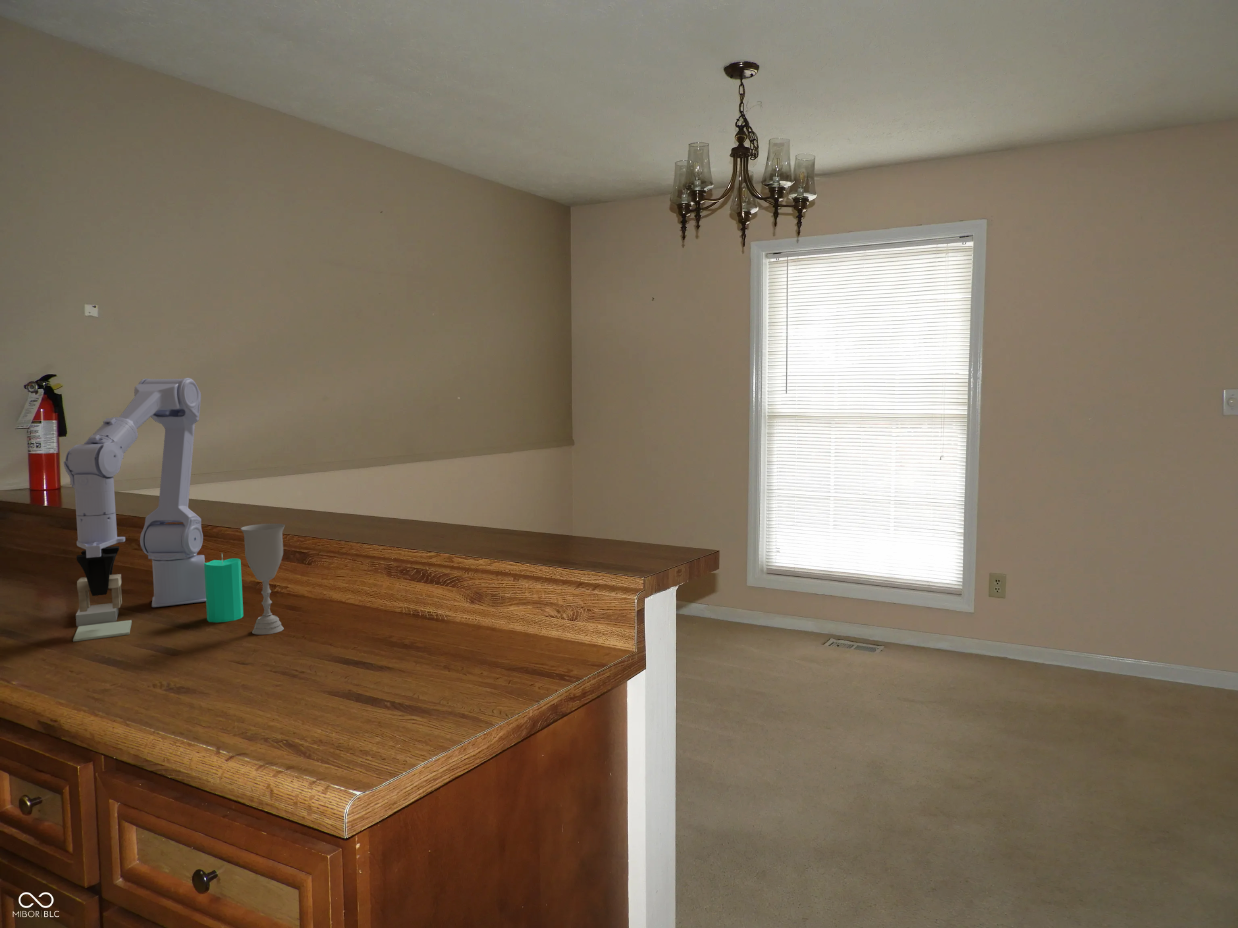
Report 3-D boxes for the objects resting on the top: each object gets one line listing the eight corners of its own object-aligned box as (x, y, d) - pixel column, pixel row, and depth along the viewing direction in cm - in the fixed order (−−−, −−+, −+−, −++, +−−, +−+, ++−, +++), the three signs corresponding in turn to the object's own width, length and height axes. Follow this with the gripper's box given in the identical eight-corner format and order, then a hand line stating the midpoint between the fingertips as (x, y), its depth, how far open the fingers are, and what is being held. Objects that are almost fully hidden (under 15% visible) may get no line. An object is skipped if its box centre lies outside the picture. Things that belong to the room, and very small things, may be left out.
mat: (131, 622, 149) (131, 619, 149) (129, 634, 141) (129, 632, 141) (78, 628, 145) (78, 626, 145) (73, 641, 137) (73, 639, 137)
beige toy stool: (78, 612, 139) (76, 581, 139) (82, 607, 143) (80, 577, 142) (120, 607, 142) (118, 578, 141) (122, 603, 145) (120, 573, 145)
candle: (249, 613, 154) (246, 550, 153) (231, 622, 148) (228, 556, 147) (219, 613, 154) (216, 549, 153) (200, 622, 148) (196, 556, 147)
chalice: (272, 637, 138) (267, 530, 137) (236, 635, 139) (231, 529, 138) (298, 625, 145) (293, 523, 144) (263, 623, 147) (258, 523, 145)
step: (118, 612, 155) (117, 602, 155) (116, 621, 149) (115, 610, 149) (80, 617, 153) (79, 606, 152) (76, 626, 146) (75, 615, 146)
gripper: (119, 517, 137) (124, 598, 138) (126, 507, 149) (131, 581, 150) (68, 520, 133) (74, 603, 134) (80, 510, 146) (85, 585, 147)
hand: (101, 592), depth 142 cm, fingers closed on beige toy stool, 4 cm apart
